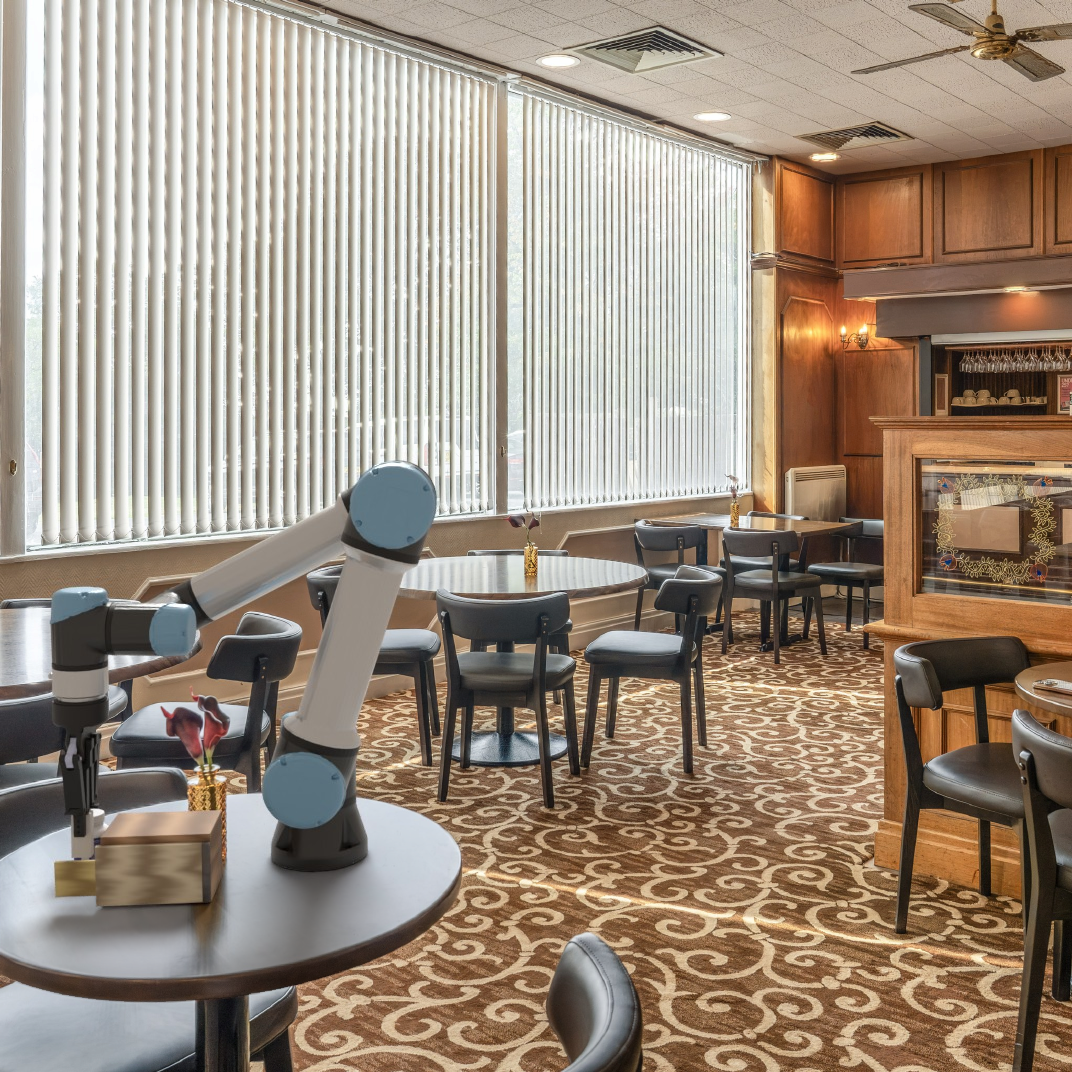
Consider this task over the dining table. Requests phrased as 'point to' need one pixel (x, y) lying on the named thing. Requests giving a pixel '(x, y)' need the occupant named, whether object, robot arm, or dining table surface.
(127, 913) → the dining table surface
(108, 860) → the door
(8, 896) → the dining table surface
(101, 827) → the pill bottle
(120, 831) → the case
